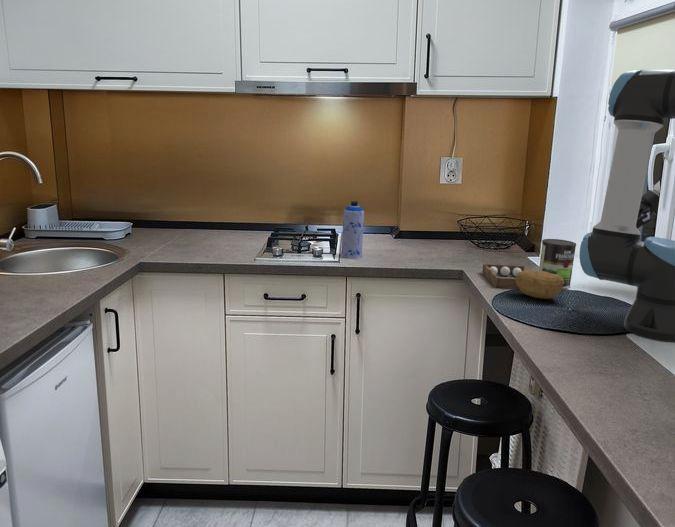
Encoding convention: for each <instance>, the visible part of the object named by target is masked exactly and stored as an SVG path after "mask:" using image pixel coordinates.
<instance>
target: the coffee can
mask: <svg viewBox="0 0 675 527" xmlns="http://www.w3.org/2000/svg"><path fill="white" fill-rule="evenodd" d="M541 240H542V241H541V242H542V244H541V250H540V260H539V266H538V271H545V272H548V273H552V274H557V275H559V276H561V277H562V278H563V280H564V285H563V288H562V290H563V289H564V290H565V289H570V288H571V281H572V276H573V274H572V273H573V267H574V261H575V253H576V247H577V243H576V242H574V241H572V240H571V241H570V240H565V239H561V238H560V239H559V238H544V239H541Z"/></svg>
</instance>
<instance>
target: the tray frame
mask: <svg viewBox="0 0 675 527" xmlns="http://www.w3.org/2000/svg"><path fill="white" fill-rule="evenodd" d="M492 266H494V267H496V268H497V269H498V273H497V274H495V273H494V272H493V271H492V270H491V269H490V267H492ZM504 266H506V267H508V268H509V269H510V274H509V275H513V273H512V271H513V269H514V268H520V269H521V271H524V270H525V266H524V265H512V264H511V265H510V264H493V263H492V264H490V263H489V264H488V263H482V272H483V273H484V274H483V273H482V274H483V276H484V277H486V278H487V279H488V280H489V282H490V283H492V285H493V286H494V287H495V288H497V289H515V290H516V289H518V290H520V289H519V287H518V286H517V284H516V280H515V278H514V277H513V278H510V277H499V276H498V275H502V274H501V273H500V270H501V268H502V267H504ZM513 276H514V275H513Z"/></svg>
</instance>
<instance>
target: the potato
mask: <svg viewBox="0 0 675 527" xmlns="http://www.w3.org/2000/svg"><path fill="white" fill-rule="evenodd" d="M514 279H515V280H516V284H517V286H518V287H519V289H518V290H520V292H522V293H523V294H525V295H526V296H529V297H530V298H533V297H534V299H537V298H539V299H538V300H543V299H544V300H550V299H552V298H555V297H556V296H558V295H560V292H562V290H563V289H562V288H563V285H564V280H563V278H562V277H561V276H559V275H557V274H552V273H548V272H545V271H539V270H531V269H527V270H526V269H524V271H521V272H519V273H518V274H517V275H516V276H515V278H514Z"/></svg>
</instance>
